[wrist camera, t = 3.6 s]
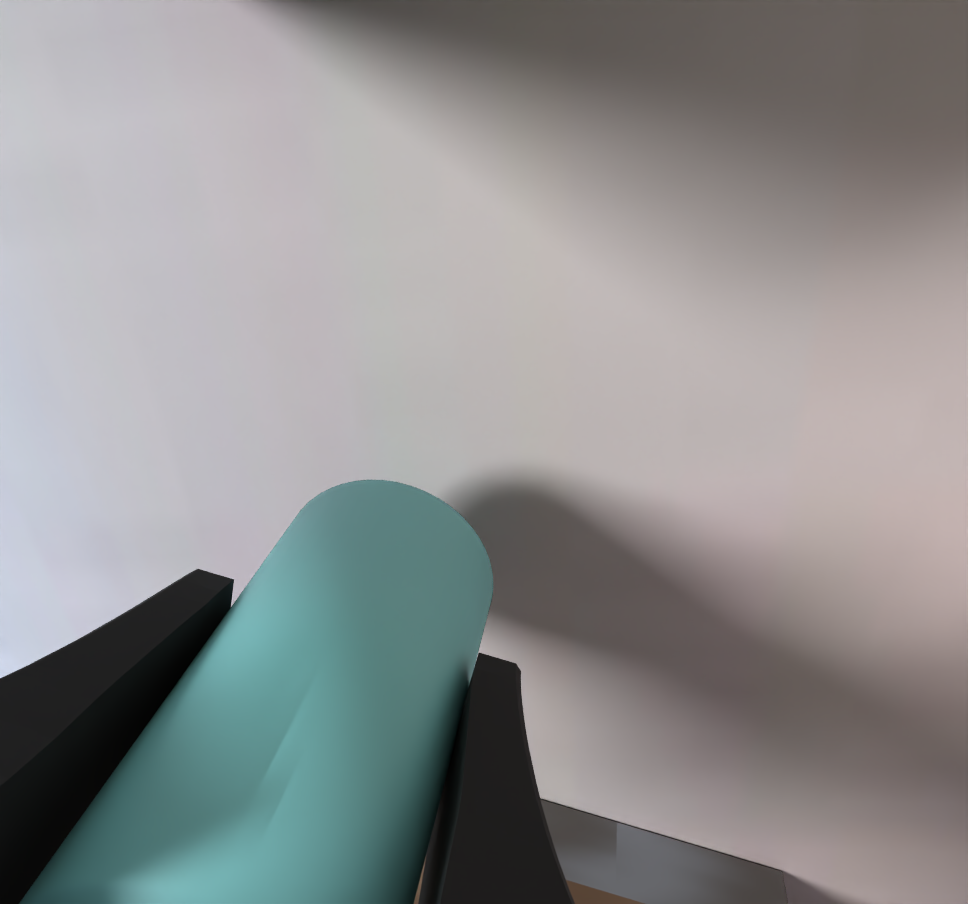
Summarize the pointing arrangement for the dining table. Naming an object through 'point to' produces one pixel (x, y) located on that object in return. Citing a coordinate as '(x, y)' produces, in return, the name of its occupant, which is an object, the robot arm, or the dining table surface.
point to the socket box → (649, 866)
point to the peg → (301, 723)
